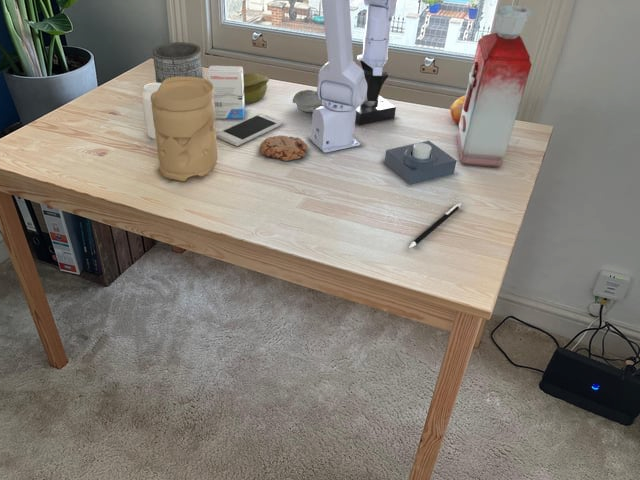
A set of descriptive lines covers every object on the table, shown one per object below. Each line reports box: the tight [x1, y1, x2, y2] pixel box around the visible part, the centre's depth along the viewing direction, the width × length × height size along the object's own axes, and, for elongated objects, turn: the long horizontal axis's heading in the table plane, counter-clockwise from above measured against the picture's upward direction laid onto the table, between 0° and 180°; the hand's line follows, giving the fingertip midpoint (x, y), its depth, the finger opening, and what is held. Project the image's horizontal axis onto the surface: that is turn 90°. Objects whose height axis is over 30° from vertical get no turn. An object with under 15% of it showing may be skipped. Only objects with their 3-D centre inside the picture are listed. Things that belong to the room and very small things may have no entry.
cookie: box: [259, 135, 308, 162], centre depth 129 cm, size 10×11×3 cm
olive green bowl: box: [243, 72, 270, 104], centre depth 151 cm, size 11×12×7 cm
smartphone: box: [216, 113, 282, 147], centre depth 138 cm, size 7×15×1 cm, turn 136°
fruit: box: [449, 94, 466, 126], centre depth 138 cm, size 8×8×8 cm
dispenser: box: [383, 140, 457, 185], centre depth 122 cm, size 11×11×5 cm
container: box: [151, 76, 219, 182], centre depth 119 cm, size 13×13×18 cm
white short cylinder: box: [412, 142, 432, 159], centre depth 118 cm, size 4×4×2 cm
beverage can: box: [141, 82, 162, 141], centre depth 133 cm, size 6×6×12 cm
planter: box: [152, 41, 204, 83], centre depth 150 cm, size 12×12×13 cm
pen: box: [408, 202, 462, 249], centre depth 107 cm, size 1×19×1 cm, turn 138°
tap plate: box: [355, 95, 397, 126], centre depth 144 cm, size 10×9×3 cm
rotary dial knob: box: [362, 94, 380, 107], centre depth 142 cm, size 4×4×4 cm
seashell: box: [292, 89, 323, 113], centre depth 145 cm, size 12×8×5 cm
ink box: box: [205, 65, 246, 120], centre depth 142 cm, size 9×5×12 cm, turn 84°
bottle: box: [456, 5, 533, 168], centre depth 119 cm, size 14×10×30 cm
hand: (370, 94), depth 141 cm, fingers open, 7 cm apart
